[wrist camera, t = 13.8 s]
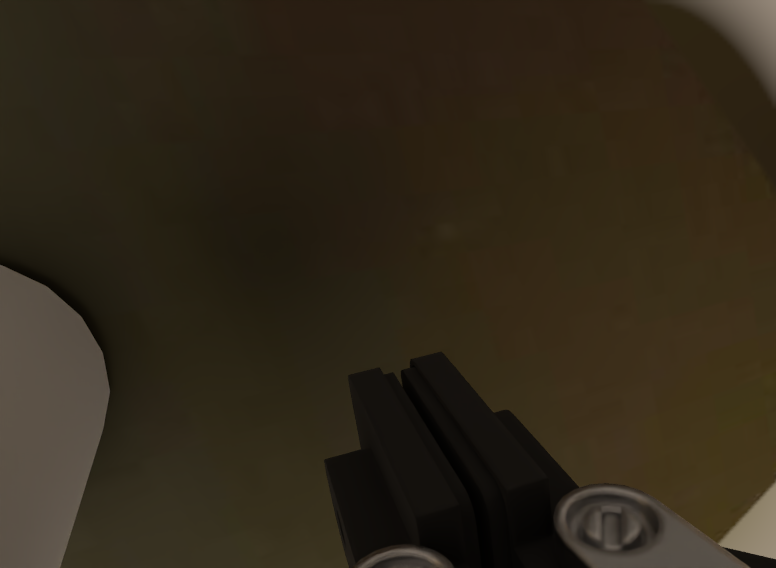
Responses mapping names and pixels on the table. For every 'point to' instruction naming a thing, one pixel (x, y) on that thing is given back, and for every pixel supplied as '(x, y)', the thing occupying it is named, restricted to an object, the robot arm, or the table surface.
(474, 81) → the table surface
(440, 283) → the table surface
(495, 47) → the table surface
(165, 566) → the table surface
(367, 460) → the robot arm
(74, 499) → the can
